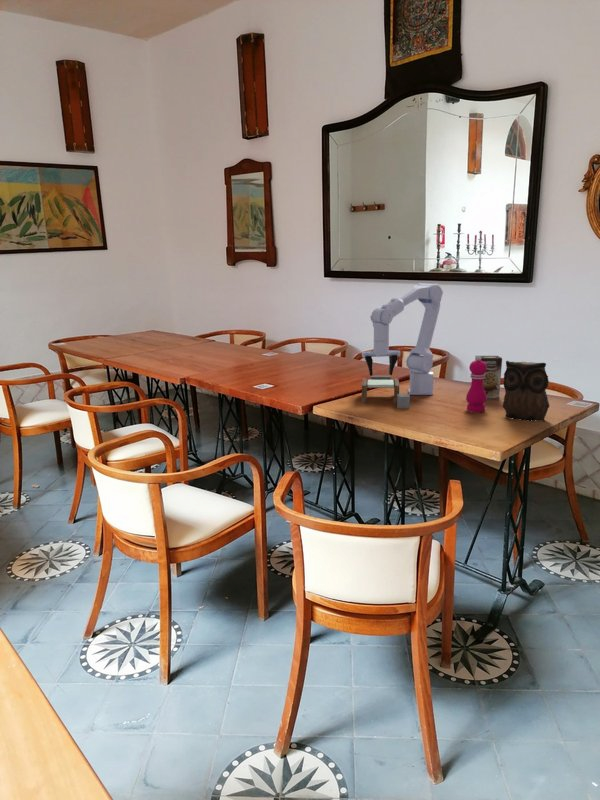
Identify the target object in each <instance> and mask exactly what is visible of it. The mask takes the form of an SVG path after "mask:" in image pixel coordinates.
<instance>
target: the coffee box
mask: <svg viewBox="0 0 600 800" xmlns="http://www.w3.org/2000/svg"><path fill="white" fill-rule="evenodd" d="M477 356H478V355H475V356H474V357H475V359H474V361H475V360H476V357H477ZM479 356H480V357H481V361H483V362H485V363H486V365H487V370H486V372H485V373H484V374H485V378H484V379H483V388H484V390H485V393H486V396H487V399H493V398H492V397H499V398H500V393H501V381H502V380H501V379H502V368H503V367H502V366H503V357H501V356H499V355H479Z"/></svg>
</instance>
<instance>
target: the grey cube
mask: <svg viewBox="0 0 600 800" xmlns="http://www.w3.org/2000/svg"><path fill="white" fill-rule="evenodd" d="M410 401H411V395H410V394H409V393H399V394H397V404H396V408H397V409H410V408H411V407H410V403H411V402H410Z"/></svg>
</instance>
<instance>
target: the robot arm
mask: <svg viewBox="0 0 600 800" xmlns="http://www.w3.org/2000/svg"><path fill="white" fill-rule="evenodd" d="M443 294H444V291H443V289H442V287H441V286H440V284H438V283H422V282H419V283H417V284H416V285H414V286H413V287H412V288H411V289H410V290H409V291H408V292H407V293H405V294H404V295H402V297H400V298H398V297H396V298H395V297H394V298H391V299H390V301H388V302H387V303H386V304H383V305H382V306H381V307H380V308H379V307H378V308H375V309H373V311H372V312H371V315H370V316H369V317H370V321H371V323H372V327H373V350H370V351H362V352H361V358H363V359H364V360H365V362H366V365H367V368H368V371H369V376H370V377H371V376H373V362H374V360H373V358H379V357H382V358H383V357H388V359H389V361H388V362H389V368H388V373H389V376H392V375H393V373H394V368H395V366H396V364H397V362H398V359H399V357H401V350H391V349H390V347H389V346H390V343H389V342H390V339H389V338H390V324H391V322H392V321H393V319H394V317H396V316H398V315H400V314H401V313H403V311H404V310H405V307H406V306H407V305H409V304H411V303H414V302H415V301H416V300H417V301H419V303H421V305H422V306H423V307H424V312H423V313H424V314H423V318H422V321H421V324H420V325H421V326H420V330H419V334H418V338H417V341H416V344H415V346H414V347H413V348H412V349H410V352H409V355H408V356H407V357H406V361H405V362H406V367H407V368H408V372H409V374H410V375H409V388H408V390H407V391H408V394H409V395H410V396H411V395H414V396H415V395H419V396H421V395H422V396H425V395H426V396H429V395H431V396H432V395H434V372H433V371H432V368H433V363H434V361H433V358H434V354H433V353H432V351H431V350H430V348H431V344H432V340H433V337H434V331H435V329H436V325H437V321H438V316H439V314H440V309H441V301H442V297H443Z"/></svg>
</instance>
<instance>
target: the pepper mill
mask: <svg viewBox="0 0 600 800" xmlns="http://www.w3.org/2000/svg"><path fill="white" fill-rule="evenodd" d="M476 356H477V357H476V360H475V359H474V360H473V361H471V362H470V364H469V371H470V379H471V384H470V387H469V389H468V391H467V392H466V395H465V396H466V397H465V400H466V402H467V403H468V404H467V405H466V411H468V412H470V411H471V413H483V412H485V410H486V406H485V403H486V402H487V400H488V398H487V396H486V393H485V390H484V388H483V379H484V378H485V374H484V373H485V372H486V370H487V365H486V363H485V362H483V361H481V357H480V356H481V355H476Z"/></svg>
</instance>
